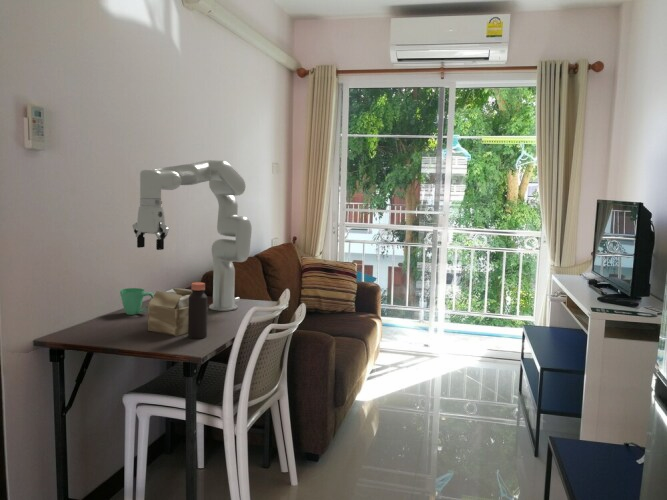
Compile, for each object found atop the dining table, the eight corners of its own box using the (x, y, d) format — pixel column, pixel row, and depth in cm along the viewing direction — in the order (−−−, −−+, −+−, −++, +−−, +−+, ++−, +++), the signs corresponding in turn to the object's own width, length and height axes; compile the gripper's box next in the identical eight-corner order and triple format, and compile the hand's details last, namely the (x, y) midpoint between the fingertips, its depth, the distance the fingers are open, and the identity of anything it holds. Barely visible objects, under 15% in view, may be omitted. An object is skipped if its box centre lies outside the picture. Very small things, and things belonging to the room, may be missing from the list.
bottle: (197, 333, 210) (198, 281, 208) (210, 336, 207) (211, 283, 205) (184, 336, 205) (184, 283, 202) (197, 340, 201) (198, 285, 199)
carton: (176, 321, 226) (176, 289, 224) (205, 327, 219) (206, 294, 217) (147, 330, 211) (147, 296, 210) (177, 336, 205) (177, 301, 203)
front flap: (157, 291, 213) (156, 291, 212) (182, 295, 207) (181, 295, 207) (149, 304, 209) (148, 303, 209) (174, 308, 204) (173, 308, 203)
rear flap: (179, 297, 224) (180, 296, 224) (203, 301, 218) (204, 300, 219) (172, 288, 220) (172, 287, 220) (196, 292, 214) (197, 291, 214)
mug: (115, 315, 232) (115, 291, 231) (126, 310, 242) (126, 287, 241) (149, 317, 231) (150, 293, 230) (159, 312, 241) (159, 289, 240)
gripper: (175, 204, 207) (174, 249, 209) (141, 201, 215) (141, 245, 217) (160, 204, 201) (160, 251, 203) (125, 202, 208) (126, 247, 210)
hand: (150, 248), depth 210 cm, fingers open, 9 cm apart
